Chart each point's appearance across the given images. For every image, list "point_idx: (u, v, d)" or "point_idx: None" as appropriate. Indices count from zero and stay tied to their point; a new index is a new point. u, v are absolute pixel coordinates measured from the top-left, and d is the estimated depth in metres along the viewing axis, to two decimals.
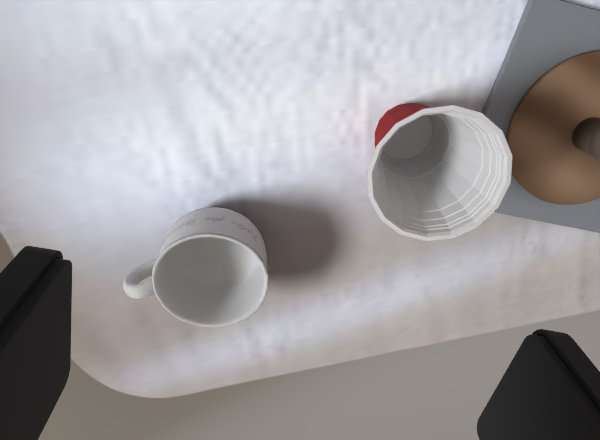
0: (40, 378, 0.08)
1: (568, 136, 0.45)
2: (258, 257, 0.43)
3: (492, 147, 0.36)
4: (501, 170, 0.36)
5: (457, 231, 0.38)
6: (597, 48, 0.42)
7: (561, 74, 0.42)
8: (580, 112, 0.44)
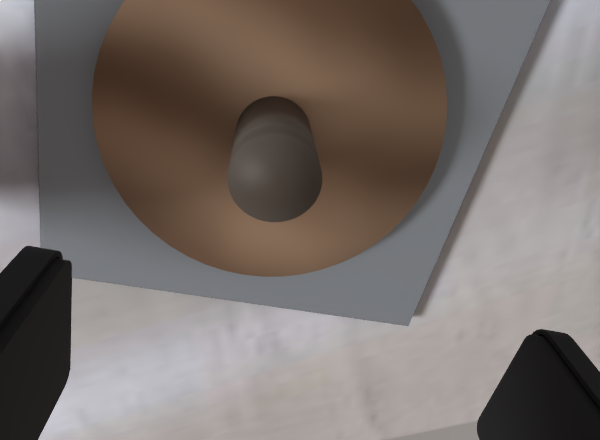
0: (40, 378, 0.08)
1: (228, 139, 0.20)
2: None
3: None
4: None
5: None
6: None
7: None
8: (237, 85, 0.19)
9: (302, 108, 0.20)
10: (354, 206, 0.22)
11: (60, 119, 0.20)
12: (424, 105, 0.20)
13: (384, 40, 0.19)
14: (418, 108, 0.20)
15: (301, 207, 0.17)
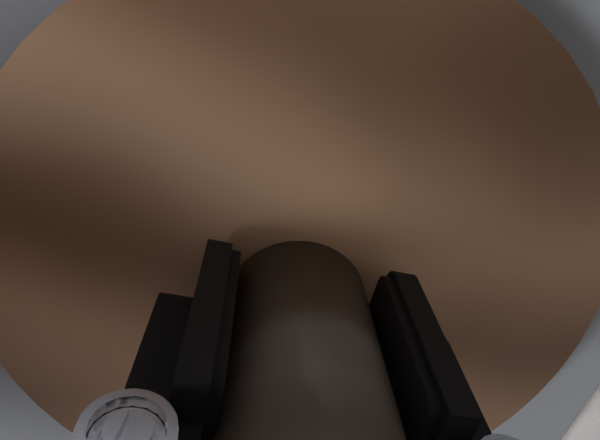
0: None
1: None
2: None
3: None
4: None
5: None
6: None
7: (63, 57, 0.08)
8: (230, 224, 0.10)
9: (350, 259, 0.11)
10: None
11: None
12: (575, 251, 0.11)
13: (516, 143, 0.10)
14: (563, 256, 0.11)
15: None
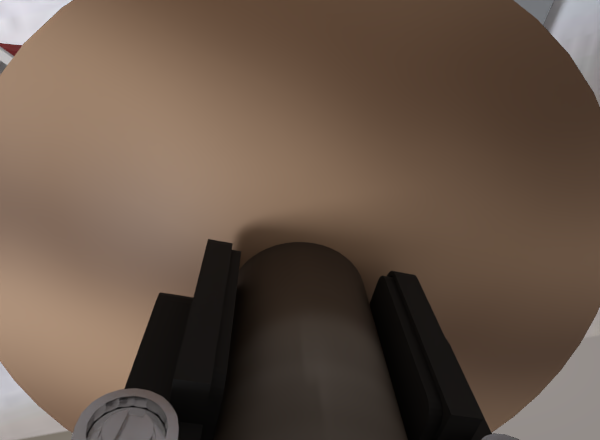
0: None
1: None
2: None
3: None
4: None
5: None
6: None
7: (65, 59, 0.08)
8: (231, 225, 0.10)
9: (351, 261, 0.11)
10: None
11: None
12: (576, 252, 0.11)
13: (516, 145, 0.10)
14: (564, 257, 0.11)
15: None
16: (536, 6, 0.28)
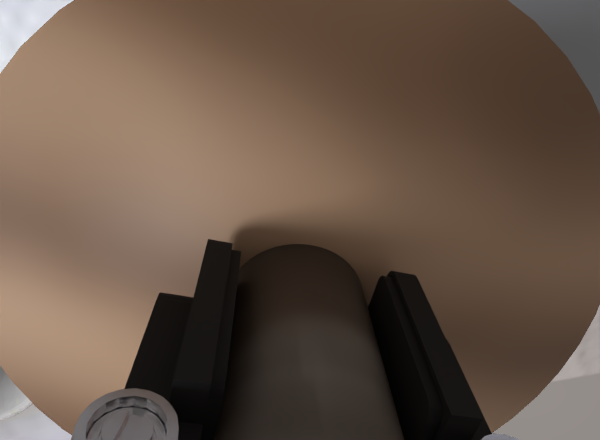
0: None
1: None
2: None
3: None
4: None
5: None
6: None
7: (62, 62, 0.08)
8: (229, 227, 0.10)
9: (350, 263, 0.11)
10: None
11: None
12: (575, 254, 0.11)
13: (514, 147, 0.10)
14: (562, 259, 0.11)
15: None
16: None
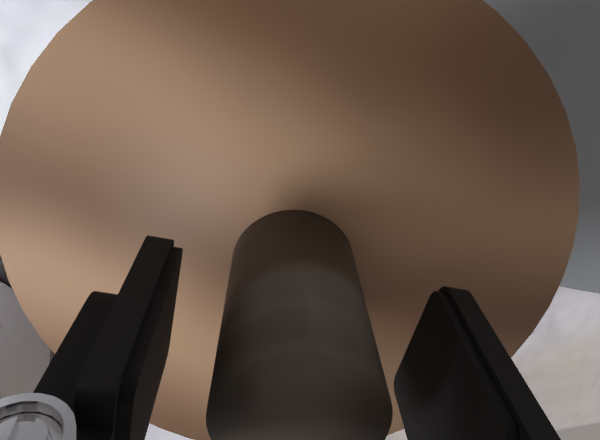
0: (161, 350, 0.09)
1: (220, 273, 0.13)
2: None
3: None
4: None
5: None
6: None
7: (92, 46, 0.10)
8: (234, 194, 0.12)
9: (340, 227, 0.12)
10: None
11: None
12: (541, 221, 0.12)
13: (484, 123, 0.11)
14: (530, 225, 0.12)
15: None
16: None
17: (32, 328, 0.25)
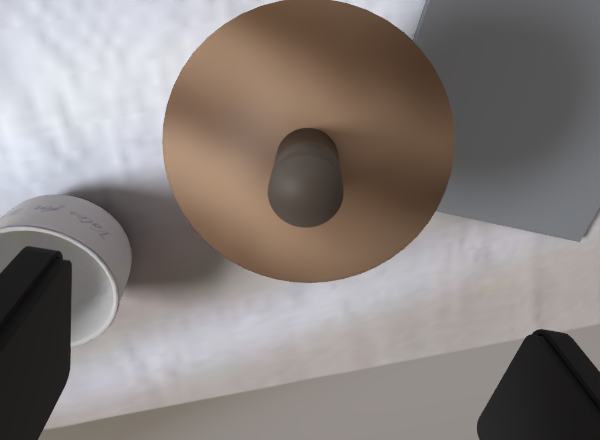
0: (40, 378, 0.08)
1: (270, 162, 0.25)
2: (98, 259, 0.33)
3: None
4: None
5: None
6: None
7: (221, 44, 0.22)
8: (279, 118, 0.24)
9: (332, 138, 0.24)
10: (373, 223, 0.26)
11: None
12: (435, 139, 0.24)
13: (401, 85, 0.23)
14: (430, 141, 0.24)
15: (325, 215, 0.20)
16: None
17: (124, 239, 0.37)
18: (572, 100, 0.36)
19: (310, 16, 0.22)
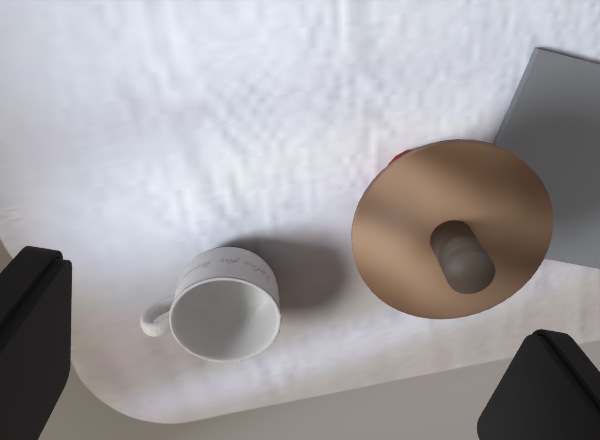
0: (40, 378, 0.08)
1: (425, 241, 0.36)
2: (272, 298, 0.44)
3: None
4: None
5: None
6: (598, 98, 0.44)
7: (403, 170, 0.34)
8: (435, 214, 0.35)
9: (469, 226, 0.36)
10: None
11: None
12: (540, 226, 0.35)
13: (520, 194, 0.34)
14: (536, 228, 0.35)
15: (481, 287, 0.32)
16: None
17: (275, 279, 0.49)
18: None
19: (464, 153, 0.33)
